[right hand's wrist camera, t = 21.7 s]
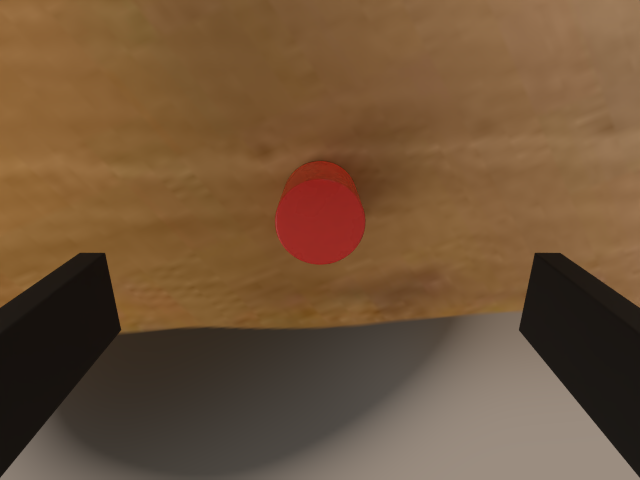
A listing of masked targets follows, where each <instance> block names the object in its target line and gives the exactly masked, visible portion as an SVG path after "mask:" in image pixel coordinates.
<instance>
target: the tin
mask: <svg viewBox="0 0 640 480" xmlns="http://www.w3.org/2000/svg"><path fill="white" fill-rule="evenodd" d="M275 227H276V232H277V235H278V238H279V240H280V242H281V243H282V245H283V247H284V248H285V249H286V250H287V251H288V252H289V253H290V254H291V255H293V256H294V257H296V258H297V259H299V260H301V261H304V262H307V263H311V264H330V263H334V262H336V261H339V260H341V259H343V258H345V257H346V256H348V255H349V254H350V253H351V252H352V251H353V250H354V249H355V248H356V247H357V246H358V244H359V243H360V241H361V239H362V237H363V233H364V229H365V214H364V209H363V207H362V204H361V201H360V198H359V195H358V192H357V190H356V187H355V184H354V182H353V180H352V178H351V177H350V175H349V174H348V173H347V172H346V171H345V170H344V169H343V168H341V167H340V166H338V165H336V164H334V163H330V162H326V161H315V162H310V163H307V164H304V165H302V166H301V167H299V168H298V169H297V170H295V171H294V172H293V173H292V174H291V176H290V177H289V179H288V181H287V183H286V185H285V188H284V191H283V194H282V196H281V199H280V202H279V205H278V208H277V211H276V216H275Z"/></svg>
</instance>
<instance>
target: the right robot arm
mask: <svg viewBox="0 0 640 480" xmlns="http://www.w3.org/2000/svg"><path fill="white" fill-rule="evenodd" d="M120 331H121V327H120V323H119V318H118V313H117V308H116V303H115V299H114V294H113V289H112V284H111V279H110V275H109V270H108V265H107V260H106V255H105V253H79V254H78V255H76V256H75V257H73V258H72V259H70V260H69V261H68V262H66V263H65V264H63V265H62V266H60V267H59V268H57V269H56V270H54V271H53V272H52V273H50V274H49V275H47V276H46V277H44V278H43V279H41V280H40V281H39V282H37V283H36V284H34V285H33V286H31V287H30V288H28V289H27V290H26V291H24V292H23V293H21V294H20V295H18V296H17V297H15V298H14V299H13V300H11V301H10V302H8V303H7V304H5V305H4V306H2V307H1V308H0V477H1V476H2V475H3V474H4V472H5V471H6V470H7V469H8V467H9V466H10V465H11V464H12V463H13V461H14V460H15V459H16V458H17V456H18V455H19V454H20V453H21V452H22V450H23V449H24V448H25V447H26V445H27V444H28V443H29V442H30V441H31V439H32V438H33V437H34V436H35V435H36V433H37V432H38V431H39V430H40V428H41V427H42V426H43V425H44V424H45V422H46V421H47V420H48V419H49V417H50V416H51V415H52V414H53V413H54V411H55V410H56V409H57V408H58V406H59V405H60V404H61V403H62V402H63V400H64V399H65V398H66V397H67V395H68V394H69V393H70V392H71V391H72V389H73V388H74V387H75V386H76V384H77V383H78V382H79V381H80V379H81V378H82V377H83V376H84V375H85V373H86V372H87V371H88V370H89V369H90V367H91V366H92V365H93V364H94V362H95V361H96V360H97V359H98V358H99V356H100V355H101V354H102V353H103V351H104V350H105V349H106V348H107V347H108V345H109V344H110V343H111V342H112V340H113V339H114V338H115V337H116V336H117V334H118V333H119V332H120ZM519 331H520V332H521V333H522V334H523V336H524V337H525V338H526V339H527V340H528V342H529V343H530V344H531V345H532V347H533V348H534V349H535V350H536V351H537V353H538V354H539V355H540V356H541V358H542V359H543V360H544V361H545V362H546V364H547V365H548V366H549V367H550V369H551V370H552V371H553V372H554V373H555V375H556V376H557V377H558V378H559V380H560V381H561V382H562V383H563V384H564V386H565V387H566V388H567V389H568V391H569V392H570V393H571V394H572V395H573V397H574V398H575V399H576V400H577V402H578V403H579V404H580V405H581V406H582V408H583V409H584V410H585V411H586V413H587V414H588V415H589V416H590V417H591V419H592V420H593V421H594V422H595V423H596V425H597V426H598V427H599V428H600V430H601V431H602V432H603V433H604V434H605V436H606V437H607V438H608V439H609V441H610V442H611V443H612V444H613V445H614V447H615V448H616V449H617V450H618V452H619V453H620V454H621V455H622V456H623V458H624V459H625V460H626V461H627V463H628V464H629V465H630V466H631V467H632V469H633V470H634V471H635V472H636V474H637V475H638V476H639V477H640V308H639V307H638V306H636V305H635V304H633V303H632V302H630V301H629V300H627V299H626V298H625V297H623V296H622V295H620V294H619V293H617V292H616V291H614V290H613V289H612V288H610V287H609V286H607V285H606V284H604V283H603V282H601V281H600V280H599V279H597V278H596V277H594V276H593V275H591V274H590V273H588V272H587V271H586V270H584V269H583V268H581V267H580V266H578V265H577V264H575V263H574V262H572V261H571V260H570V259H568V258H567V257H565V256H564V255H562V254H561V253H535V255H534V260H533V265H532V270H531V275H530V279H529V284H528V289H527V294H526V299H525V303H524V308H523V313H522V318H521V323H520V327H519Z"/></svg>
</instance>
